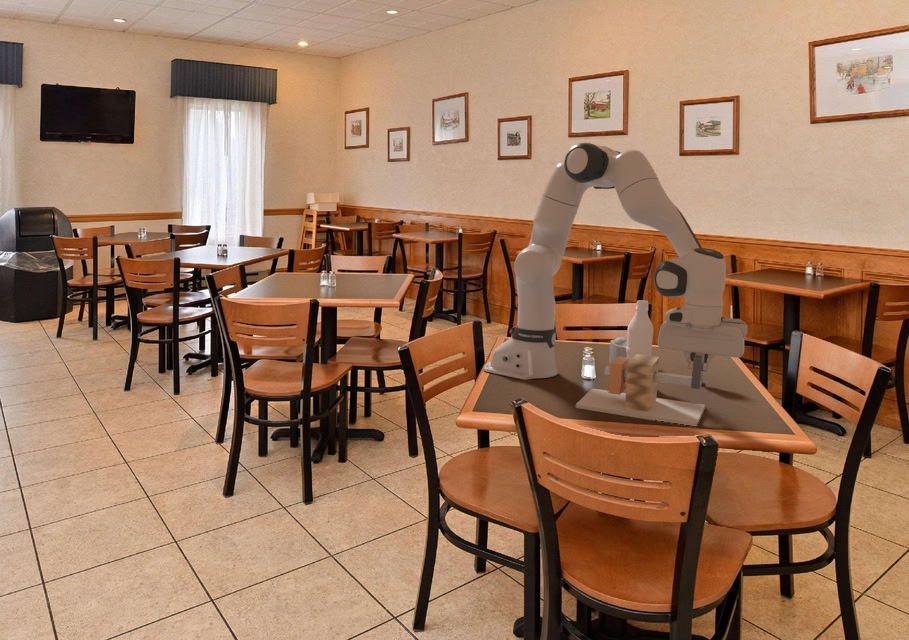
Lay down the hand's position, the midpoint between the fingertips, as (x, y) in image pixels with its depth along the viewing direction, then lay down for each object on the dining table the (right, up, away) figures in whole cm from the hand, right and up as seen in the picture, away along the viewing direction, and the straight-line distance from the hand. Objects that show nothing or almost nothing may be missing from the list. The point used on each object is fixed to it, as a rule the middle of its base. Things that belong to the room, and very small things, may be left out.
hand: (697, 370), depth 176 cm
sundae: (+10, -6, +31) cm, 34 cm away
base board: (-12, -11, +8) cm, 18 cm away
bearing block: (-12, -10, +8) cm, 17 cm away
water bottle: (-8, -7, +27) cm, 29 cm away
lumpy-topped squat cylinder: (-5, -2, +50) cm, 51 cm away
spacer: (-18, -6, +10) cm, 21 cm away
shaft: (-10, -3, +5) cm, 12 cm away
